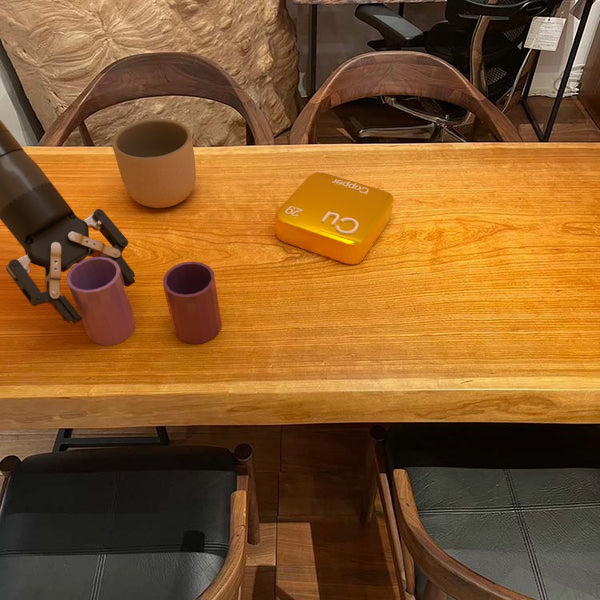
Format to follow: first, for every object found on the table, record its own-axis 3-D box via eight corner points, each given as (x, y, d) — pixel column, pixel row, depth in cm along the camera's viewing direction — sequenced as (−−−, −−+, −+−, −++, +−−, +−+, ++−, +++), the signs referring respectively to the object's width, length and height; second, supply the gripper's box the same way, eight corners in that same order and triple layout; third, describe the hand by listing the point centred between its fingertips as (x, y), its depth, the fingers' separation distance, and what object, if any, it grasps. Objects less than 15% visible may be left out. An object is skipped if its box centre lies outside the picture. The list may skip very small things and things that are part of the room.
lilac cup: (96, 352, 77) (75, 299, 69) (81, 322, 80) (60, 268, 73) (142, 333, 79) (127, 279, 72) (126, 304, 83) (109, 250, 76)
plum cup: (185, 351, 77) (175, 303, 70) (166, 320, 80) (155, 273, 74) (229, 332, 79) (223, 284, 73) (208, 303, 83) (201, 255, 76)
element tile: (394, 215, 97) (398, 191, 94) (357, 269, 88) (359, 244, 84) (314, 190, 102) (314, 166, 98) (270, 238, 93) (269, 214, 89)
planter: (149, 168, 107) (137, 112, 99) (211, 181, 104) (204, 125, 96) (112, 207, 98) (96, 150, 91) (178, 222, 95) (167, 165, 88)
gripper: (-27, 216, 65) (66, 331, 69) (78, 160, 73) (157, 266, 76) (-33, 234, 71) (53, 339, 75) (64, 181, 79) (138, 278, 83)
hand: (105, 302), depth 76 cm, fingers open, 8 cm apart
